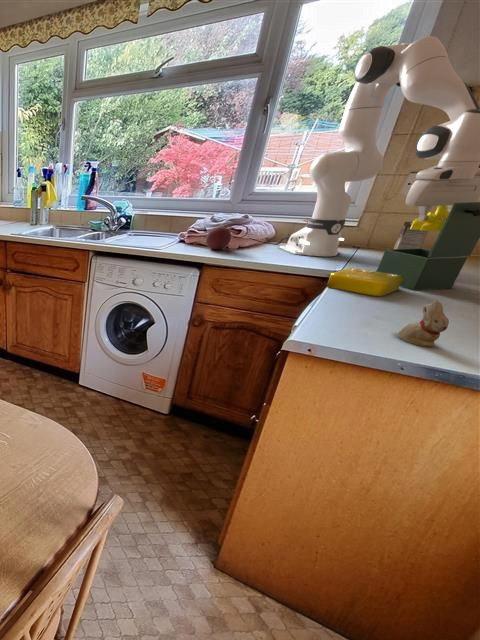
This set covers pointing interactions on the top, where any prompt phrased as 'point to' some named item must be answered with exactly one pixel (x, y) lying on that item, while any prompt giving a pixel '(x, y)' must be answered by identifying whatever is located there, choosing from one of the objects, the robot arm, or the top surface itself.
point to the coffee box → (410, 237)
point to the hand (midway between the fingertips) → (432, 220)
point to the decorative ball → (218, 238)
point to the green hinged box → (421, 268)
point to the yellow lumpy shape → (432, 220)
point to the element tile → (365, 281)
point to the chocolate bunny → (426, 326)
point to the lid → (458, 231)
